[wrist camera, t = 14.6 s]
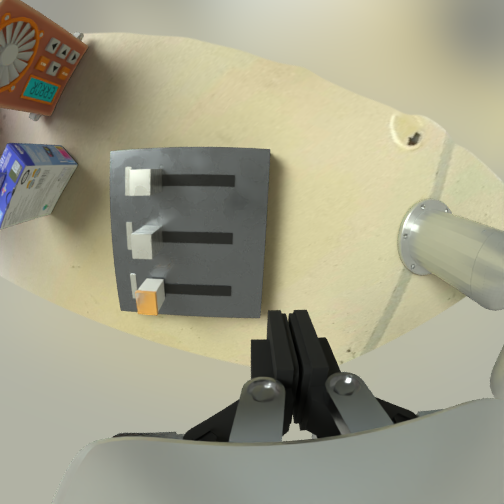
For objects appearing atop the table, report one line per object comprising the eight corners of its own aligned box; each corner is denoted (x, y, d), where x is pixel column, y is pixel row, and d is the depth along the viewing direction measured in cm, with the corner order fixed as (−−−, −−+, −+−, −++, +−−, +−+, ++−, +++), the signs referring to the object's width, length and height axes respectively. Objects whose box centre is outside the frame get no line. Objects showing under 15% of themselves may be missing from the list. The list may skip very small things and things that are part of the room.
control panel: (96, 40, 27) (50, 125, 30) (69, 34, 26) (27, 114, 29) (18, -19, 6) (-54, 115, 10) (-7, -13, 5) (-68, 105, 8)
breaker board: (267, 151, 34) (275, 145, 26) (258, 307, 40) (263, 337, 33) (119, 152, 33) (92, 149, 25) (127, 301, 39) (108, 327, 31)
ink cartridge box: (59, 142, 31) (-6, 140, 17) (80, 163, 33) (14, 166, 19) (32, 194, 33) (-30, 210, 19) (50, 215, 34) (-12, 238, 20)
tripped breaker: (163, 278, 35) (154, 293, 30) (165, 299, 35) (157, 315, 31) (146, 278, 34) (135, 292, 30) (148, 297, 35) (138, 313, 31)
